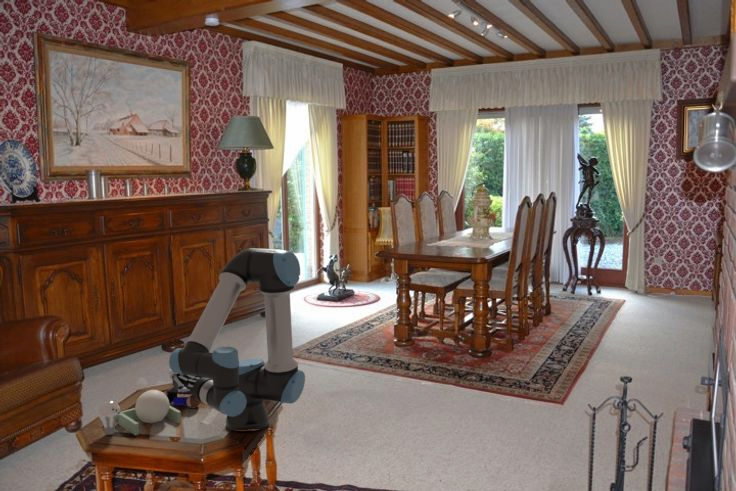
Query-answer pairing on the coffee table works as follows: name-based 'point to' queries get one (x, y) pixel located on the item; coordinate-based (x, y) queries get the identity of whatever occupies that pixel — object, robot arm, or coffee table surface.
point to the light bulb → (109, 415)
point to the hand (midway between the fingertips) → (171, 372)
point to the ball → (152, 406)
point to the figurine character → (181, 398)
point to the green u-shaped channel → (130, 415)
